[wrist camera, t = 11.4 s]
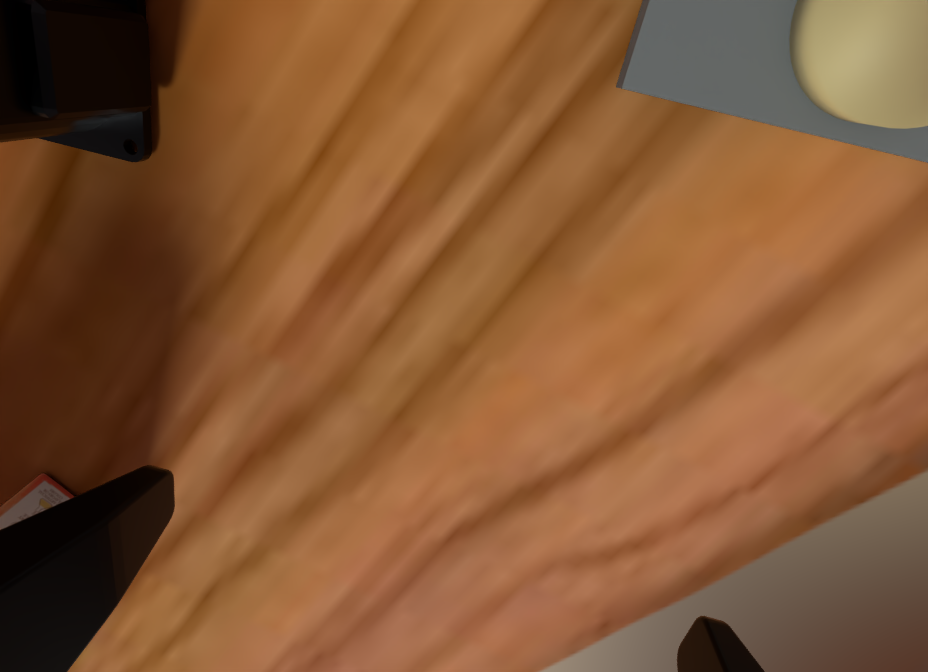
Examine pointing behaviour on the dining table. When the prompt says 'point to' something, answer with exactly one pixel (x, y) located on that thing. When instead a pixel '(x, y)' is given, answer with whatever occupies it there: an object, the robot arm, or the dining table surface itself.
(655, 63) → the carrier board
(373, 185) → the dining table surface
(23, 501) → the cracker box
